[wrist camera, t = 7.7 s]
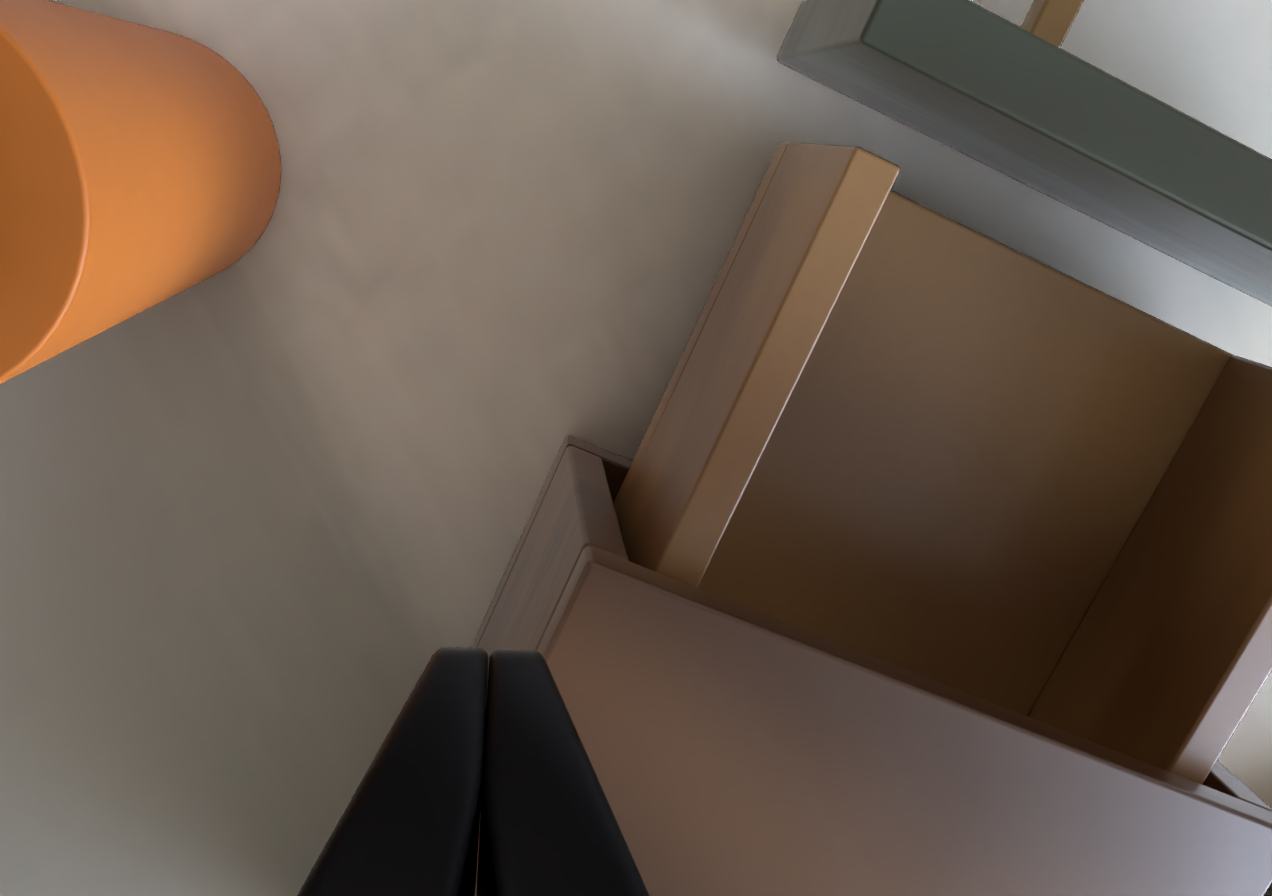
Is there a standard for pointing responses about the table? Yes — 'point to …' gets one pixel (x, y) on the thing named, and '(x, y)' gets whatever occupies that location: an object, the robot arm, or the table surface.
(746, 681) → the cabinet
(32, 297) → the orange cylinder with cap
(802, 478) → the drawer
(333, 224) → the table surface
